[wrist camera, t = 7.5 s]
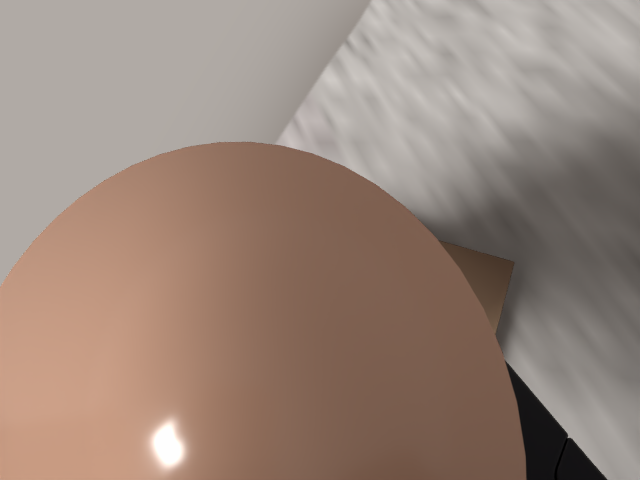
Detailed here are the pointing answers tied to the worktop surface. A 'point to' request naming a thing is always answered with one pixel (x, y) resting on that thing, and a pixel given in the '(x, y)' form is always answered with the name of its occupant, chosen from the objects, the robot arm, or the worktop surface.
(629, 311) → the worktop surface
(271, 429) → the pink rounded glossy part
